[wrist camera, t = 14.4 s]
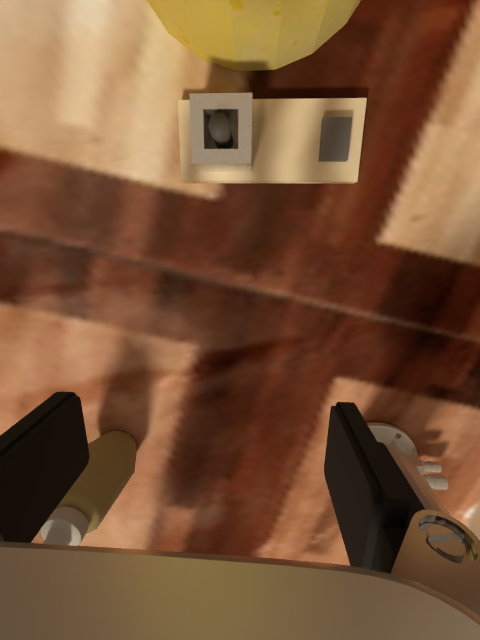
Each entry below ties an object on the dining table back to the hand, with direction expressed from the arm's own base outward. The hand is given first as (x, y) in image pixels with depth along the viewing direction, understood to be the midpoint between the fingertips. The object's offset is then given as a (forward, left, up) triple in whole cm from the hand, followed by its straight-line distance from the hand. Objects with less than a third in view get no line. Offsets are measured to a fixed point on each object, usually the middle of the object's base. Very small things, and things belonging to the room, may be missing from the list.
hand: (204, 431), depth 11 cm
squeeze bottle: (+19, +25, -28) cm, 42 cm away
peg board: (-3, -17, -28) cm, 33 cm away
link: (+2, -17, -27) cm, 32 cm away
